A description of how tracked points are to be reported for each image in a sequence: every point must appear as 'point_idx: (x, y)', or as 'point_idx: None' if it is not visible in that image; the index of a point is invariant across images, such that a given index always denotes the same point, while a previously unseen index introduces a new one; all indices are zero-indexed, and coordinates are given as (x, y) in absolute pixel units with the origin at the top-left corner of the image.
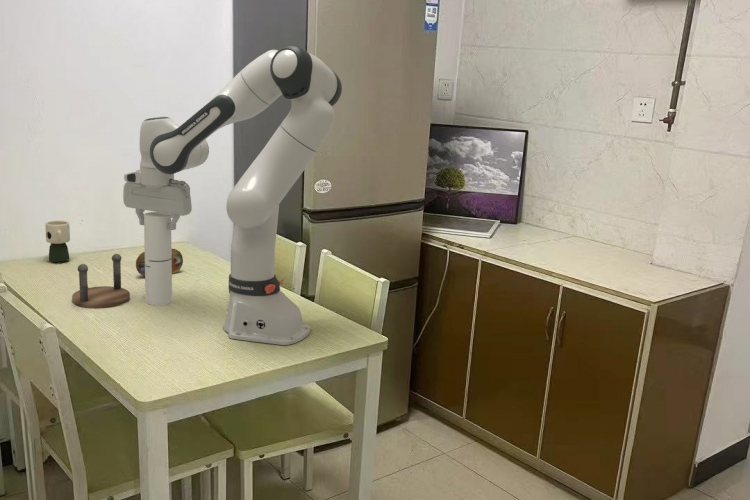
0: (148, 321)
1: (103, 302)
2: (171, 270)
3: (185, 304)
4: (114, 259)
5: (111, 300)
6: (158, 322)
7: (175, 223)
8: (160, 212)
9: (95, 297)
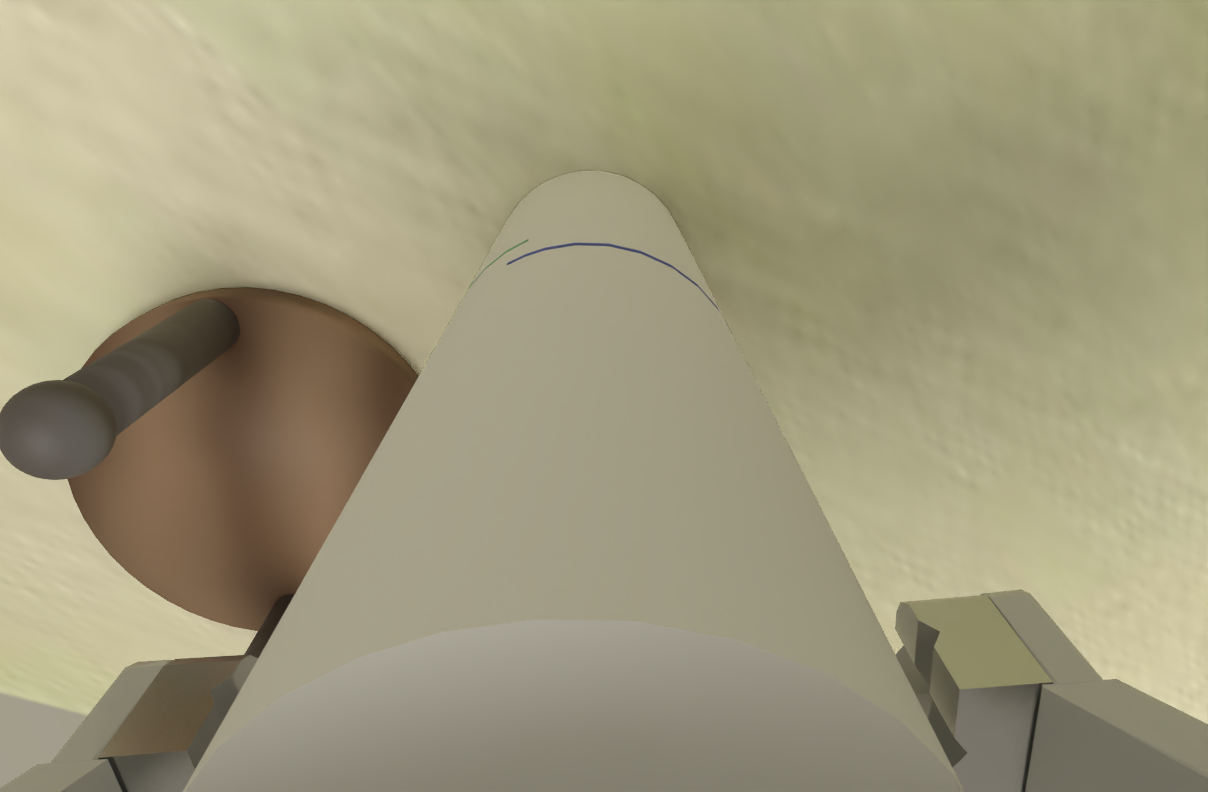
0: None
1: None
2: (704, 280)
3: (800, 208)
4: (87, 470)
5: None
6: (857, 551)
7: (1095, 697)
8: (394, 736)
9: (288, 540)
